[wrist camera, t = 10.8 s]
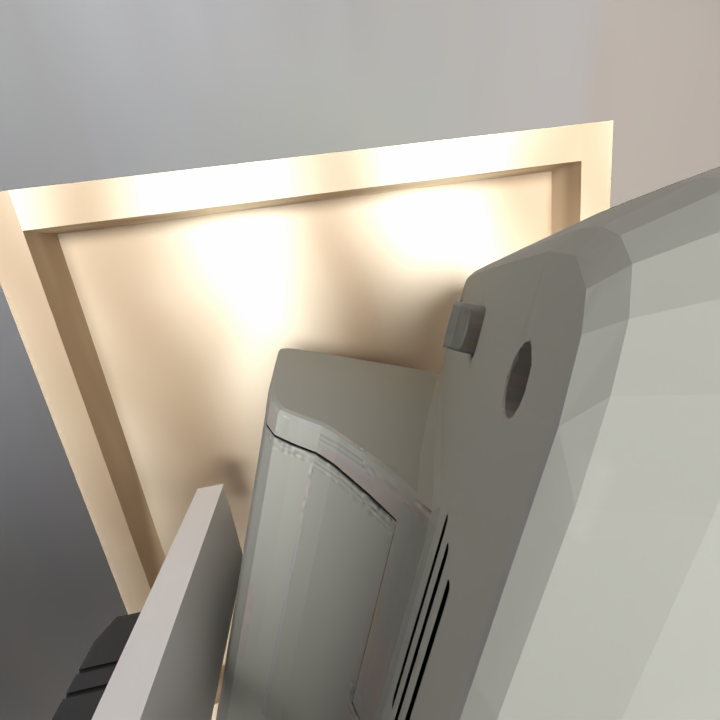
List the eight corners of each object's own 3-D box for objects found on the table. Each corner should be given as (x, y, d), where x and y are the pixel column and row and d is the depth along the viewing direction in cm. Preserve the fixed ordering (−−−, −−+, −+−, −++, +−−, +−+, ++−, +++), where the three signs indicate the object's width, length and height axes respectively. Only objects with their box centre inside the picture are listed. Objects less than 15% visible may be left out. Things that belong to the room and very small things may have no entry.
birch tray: (191, 669, 18) (174, 733, 15) (31, 206, 12) (-34, 195, 10) (557, 582, 20) (592, 628, 17) (560, 143, 14) (613, 120, 12)
